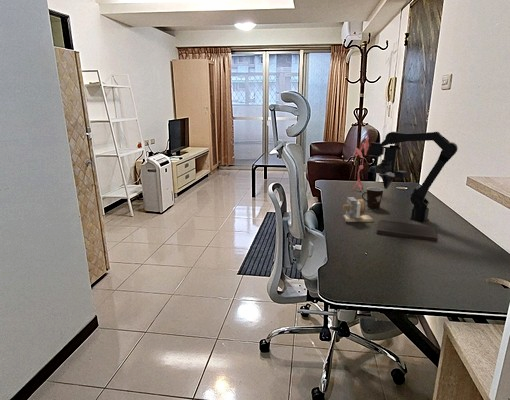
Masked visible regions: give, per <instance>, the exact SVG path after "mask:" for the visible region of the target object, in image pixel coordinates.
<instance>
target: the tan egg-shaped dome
mask: <svg viewBox="0 0 510 400" xmlns="http://www.w3.org/2000/svg"><path fill="white" fill-rule="evenodd" d="M356 200H357V201H358V202H360V203H361V208H360V216H363V215H365V212H366V211H365V210H366V204H365V200H364V199H363V198H361V199H359V198H358V199H356ZM342 208H343V209H342V210H343V211H346V210H350V205H347V204H343V205H342Z"/></svg>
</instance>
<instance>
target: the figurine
mask: <svg viewBox="0 0 510 400" xmlns="http://www.w3.org/2000/svg"><path fill="white" fill-rule="evenodd" d="M369 147H370V144H369V136H366V138H365V142H362V144H361V146H360V149H359V148H358V147H355V153H356V154H355V158H357V157H358V156H359V157H361V158H362V162H361V164H360V165H359V166H358V171H357V176H360V171H361V170H363V169H364V165H363V164H364V156H367V154H368V149H369ZM362 150H364V153H362ZM363 155H364V156H363ZM357 186H358V188H359V190H360V191H363V189H362V188H363V183H362V181H361V179H360V178H357V181H356V183H355V185H354V187H352V191H354V189H355V188H356V187H357ZM369 187H371V186H369ZM369 187H368V188H369Z"/></svg>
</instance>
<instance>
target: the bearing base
mask: <svg viewBox="0 0 510 400" xmlns="http://www.w3.org/2000/svg"><path fill="white" fill-rule="evenodd" d="M357 200H358V199H356V198H355V197H354V196H353V197H352V196H351V197H350V196H349V197H348V196H347V197H346V205H350V210H345V214H343V215H342V218H343V219H344V220H345V222H348V223H349V222H350V223H351V222H352V223H353V222H355V223H357V222H359V223H373V222H374V219H373V218H372V217H371V216H370V215H368V214H364V215H363V216H360V218H356V215H357V204H358V201H357Z"/></svg>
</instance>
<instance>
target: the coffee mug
mask: <svg viewBox="0 0 510 400" xmlns="http://www.w3.org/2000/svg"><path fill="white" fill-rule="evenodd" d="M365 194H366V199H365V198H364V195H365ZM383 195H384V189H383V188H381V187H374V186H373V187H372V186H370V187H366V191H364V192H363V193H362V194H361V197H362V198H361V199H363V200H364V202H366V206H367V208H370V209H380V207H381V202H382V199H383Z"/></svg>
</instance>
